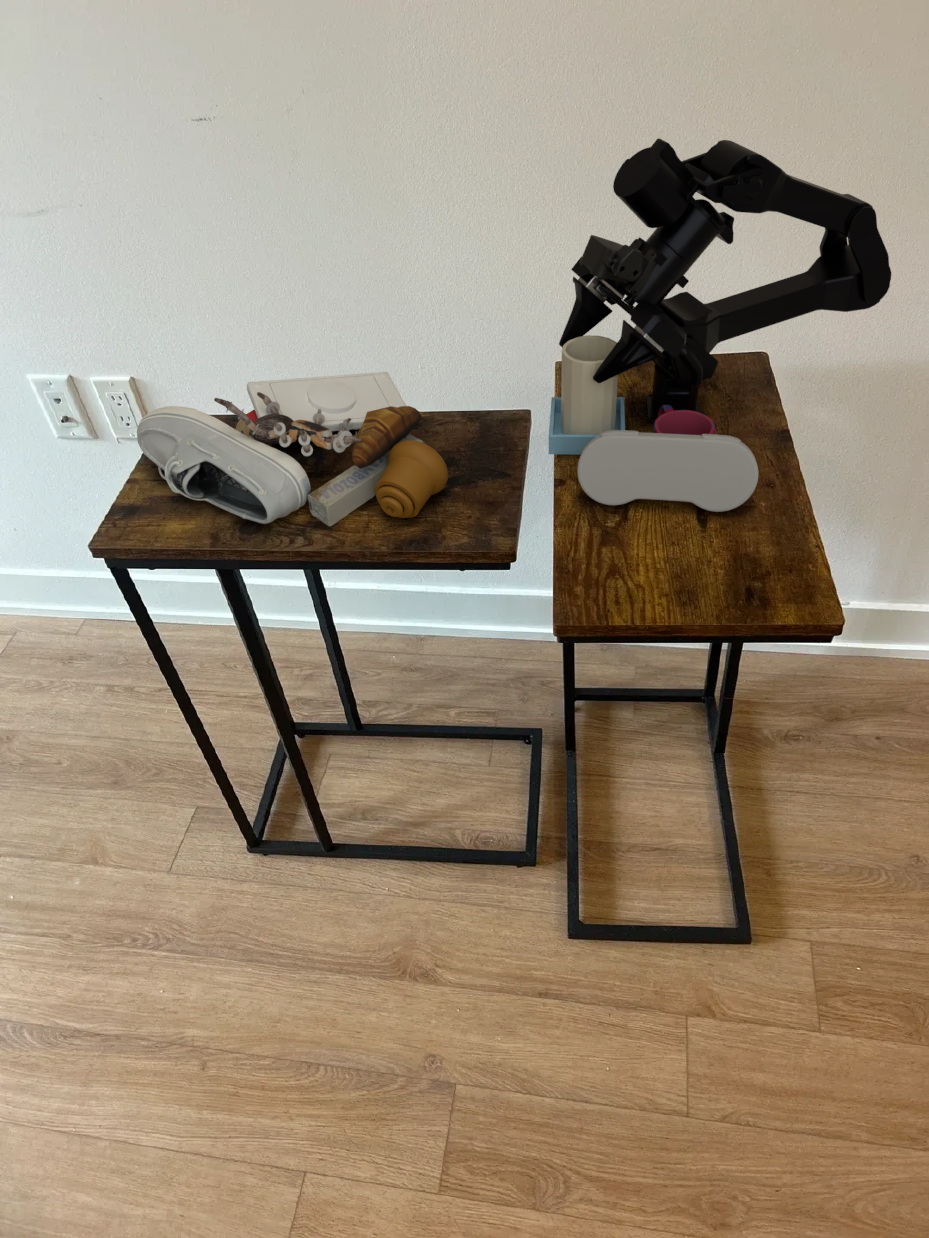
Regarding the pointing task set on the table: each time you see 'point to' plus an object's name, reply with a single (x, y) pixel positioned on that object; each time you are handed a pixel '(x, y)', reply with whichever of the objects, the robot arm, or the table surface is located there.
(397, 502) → the ornamental finial
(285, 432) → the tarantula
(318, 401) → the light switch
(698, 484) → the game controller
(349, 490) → the grey printed bar
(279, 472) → the boat shoe
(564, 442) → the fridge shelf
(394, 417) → the croissant
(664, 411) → the cup
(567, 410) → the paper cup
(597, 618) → the table surface
